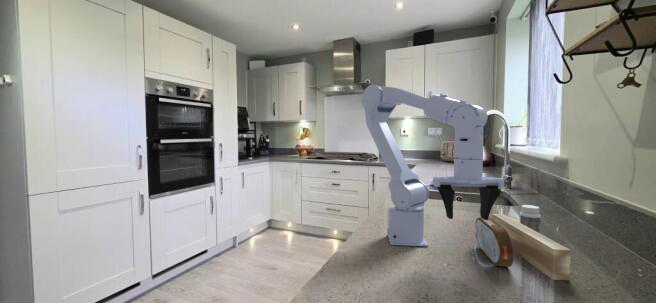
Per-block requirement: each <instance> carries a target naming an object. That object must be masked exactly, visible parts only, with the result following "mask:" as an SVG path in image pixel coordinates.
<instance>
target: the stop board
mask: <svg viewBox="0 0 656 303" xmlns="http://www.w3.org/2000/svg"><path fill="white" fill-rule="evenodd" d="M491 218H492V219H493V220H495V221H496V222H497V223H499V224H500V225H501V226H502V227H504V228H505V229H506V230H507V232H508V234H509V236H510V238H511V241H512V245H513V251H514V253H516V254H517V255H519V256H520V257H522V258H523V259H524V260H525V261H527V262H528V263H530V265H532V266H534V268H537V269H538V270H539V271H540V272H542V273H543V274H544V275H546V276H547V277H548V278H550V280H552V281H553V280H554V281H556V280H557V281H558V280H559V281H570V276H571V258H572V256H571V252H572V250H571V249H569V248H568V247H565V246H564V245H562V244H560V243H559V242H557V241H554V240H553V239H551V238H549V237H547V236H545V235H543V234H541V232H540V233H538V232H536V231H534V230H532V229H530V228H529V227H527V226H525V225H523V224H521V223H520V221H517V220H515V219H513V218H512V217H509V216H508V215H506V214H504V213H492V214H491Z"/></svg>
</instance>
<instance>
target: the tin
mask: <svg viewBox="0 0 656 303" xmlns="http://www.w3.org/2000/svg"><path fill="white" fill-rule="evenodd" d="M475 237H476V238H475V239H476V241H477V245H478V246H479V249H480V250H481V251H482V253H483V254H484V255H485V257H486V258H488V259H489V261H490V262H491V263H492V264H493V265H494V266H496V267H508V268H510V267H512V266H513V263H514V260H515V256H514V255H515V251H513V245H512V241H511V238H510V236H509V234H508V232H507V230H506V229H505V228H504V227H502V226H501V225H500V224H499V223H497V222H496V221H495V220H493V219H492V216H489V217H488V220H484V219H483V218H481V216H480V217H477V218H476V219H475Z"/></svg>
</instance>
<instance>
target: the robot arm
mask: <svg viewBox="0 0 656 303" xmlns="http://www.w3.org/2000/svg"><path fill="white" fill-rule="evenodd" d="M402 104H403V105H407V106H410V107H413V108H416V109H419V110H423V113H424V114H425V116H426V117H427V118H430V119H432V120H435V121H437V122H439V123H440V122H441V123H444V124H446V125H449V126H452V128H453V129H454V147H453V150H454V152H453V153H454V154H453V176H433V178H432V186H434V187H436V188H437V191H438V193H439V194H440V197H441V200H442V203H443V206H444V208H445V214H446V217H447V218H448V219H449V220H453V218H454V198H455V194H456V190H454V189H453V187H466V188H467V187H470V188H471V187H472V188H473V187H475V188H477V187H478V189H479V190H478V191H479V197H480V198H479V199H480V206H479V207H480V210H479V211H480V212H479V215H480V217H481V218H483V219H484V220H488V217H490V214H491V210H492V209H493V206H494V204H495V202H496V200H497V199H498V198H499V197H500V195H501V194H502V189H504V188H505V178H501V177H488V176H487V177H485V176H483V171H484V168H483V164H484V162H483V161H484V126H485V125H487V123H488V118H489V116H488V113H487V111H486V110H485V109H484V108H483V107H481V106H479V105H478V104H469V103H467V100H466V99H465V100H464V99H460V100H457V99H453V98H450V97H448V94H444V93H439V94H434V95H431V96H429V97H426V96H423V95H421V94H418V93H415V92H412V91H409V90H406V89H403V88H397V87H392V86H385V85H384V86H383V85H380V86H379V85H376V84H370V85H368V86H367V87H365V89H364V91H363V93H362V97H361V105H362V107H363V109H364V114H365V115H364V116H365V123H366V127H367V129H368V131H369V134H370V135H371V137H372V139H373V143H374V144H375V145H376V148H377V150H378V152H379V155H380V158H382V161H383V163H384V165H385V168H386V169H387V171H388V174H389V176H390V179H389V182H388V185H387V186H388V188H389V189H388V190H389V191H390V192H389V193H390V200H391V202H392V205H394V206H391V207H387V228H386V233H387V237H388V241H389V245H391V246H412V247H429V243H428V241H427V239H425V236H424V235H425V203H426V202H427V201H428V199H429V198H430V197H429V196H430V191H429V190H430V189H429V188H428V186H427V185H426V184H425V183H424V182H423V181H422V180H421V179H420V177H419V175H418V174H416V173H415V172H413V171H412V170H411V169H410V166H409V165H408V164H407V161H406V159H405V157H404V155H403V153H402V152H401V150H400V147H399V145H398V143H397V142H396V141H397V140H396V139H395V137H394V134H393V133H392V131H391V129H390V128H389V125H388V123H387V122H388V119H389V118H390V116H391V114H393V112H394V110H395V109H396V107H397V106H401V105H402ZM501 188H502V189H501Z"/></svg>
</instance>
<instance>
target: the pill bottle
mask: <svg viewBox="0 0 656 303" xmlns="http://www.w3.org/2000/svg"><path fill="white" fill-rule="evenodd" d="M519 223H521V224H523V225H525V226H527V227H529V228H530V229H532V230H534V231H536V232H538V233H540V234H541V230H542V228H541V227H542V226H541V224H542V215H541V214H540V207H539V206H536V205H533V204H531V205H530V204H523V205H522V204H521V211H520V212H519Z"/></svg>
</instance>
